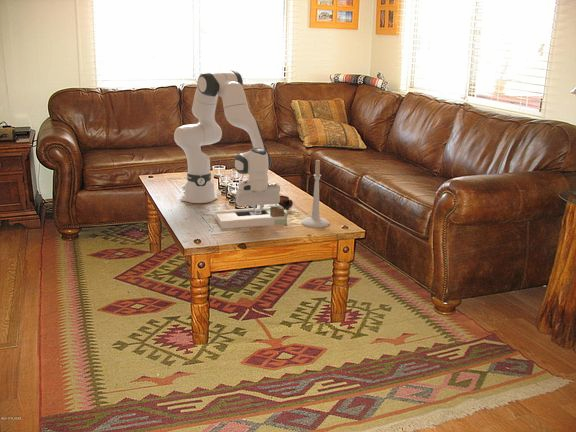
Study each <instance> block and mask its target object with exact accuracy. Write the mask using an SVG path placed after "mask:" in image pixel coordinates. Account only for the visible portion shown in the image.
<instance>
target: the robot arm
mask: <svg viewBox="0 0 576 432" xmlns="http://www.w3.org/2000/svg"><path fill="white" fill-rule="evenodd" d="M243 80H244V79H243V76H242V75H241V73H240V72H238V71H235V70H217V71H207V72H203V73H201V74H200V75H199V76H198V78H197V86H196V88H195V92H194V97H193V100H192V107H191V112H192V115H193V116H194V118H196V119H198V122H197V123H192V124H184V125H180V126H178V127H176V129H175V130H174V132H173V138H174V142H175V143H176V145H177V146H178V147H180V148H181V149H182V150H183V152H184V153H185V156H186V161H187V173H186V182H185V184H184V185H182V193H181V197H180V201H181V202H186V203H187V202H188V203H193V204H205V203H210V202H213V201H215V200H218V199H219V198H218V196H217V195H216V194H215V184H214V182H213V181H212V173H211V159H210V157H209V156H208V155H207V153H205V152H203V151H202V148H201V147H202V146H207V145H213V144H216V143H218V142H220V141H221V139H222V137H223V132H222V131H223V130H222V128H221V127H220V125H219V124H218V123H217V121H216V118H215V117H216V109H217V104H218V98H221V100H222V106H223V111H224V117H225V120H226V121H227V122H228V123H229V124H230V125H232V127H233V126H234V127H236V128H239V129H242V130H244V131H245V132H246V133H247V134H248V135H249V138H250V141H251V144H252V148H250V149H249V150H248V151H246V152H245V151H244V152H242V153H238V154H237V155H235V157H234V159H233V166H234V167H233V168H234V170H235V171H236V173H238V174H240V175H248V179H246V180H243V181H241V182H239V183H238V184H237V186H238V189H237V190H236V193H235V204H236V205H237V207H247V206H251V207H252V208H253V209H254V214H261V210H262V209H263V208H265V205H275V204H278V203H279V202H280V196H281V195H280V192H281V185H279V184H278V183H269V175H268V172H269V169H270V167H271V166H272V157H271V155H270V152H269V150H268V148H267V146H266V143H265V139H264V137H263V134H262V131H261V128H260V125H259V123H258V120H257V119H256V118H255V117H254V116H253V115H252V112H251V111H250V109H249V104H248V100H247V96H246V92H245V90H244V87H243V84H244V81H243ZM257 206H260V207H258V208H259V209H257V210H256V209H255V208H257Z"/></svg>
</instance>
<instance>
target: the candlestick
mask: <svg viewBox="0 0 576 432" xmlns="http://www.w3.org/2000/svg"><path fill="white" fill-rule="evenodd" d="M314 167H315V168H314V169H315V171H314V174H313V177H314V178H313V179H314V188H313V197H312V209H311V210H312V211H311V216H308V217H305V218H303V219H302V220H301V222H300V224H301V225H302V226H304V227H308V228H311V229H312V228H313V229H314V228H315V229H321V228H322V227H323V228H326V226H327V227H328V226H329V225H330V221H328V220H327V218H324V217H322V216H321V215H320V179H321V176H322V174H320V170H321V169H320V168H321V160H319V159H316V160H315V166H314ZM320 216H321V217H320Z"/></svg>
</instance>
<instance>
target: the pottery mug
mask: <svg viewBox="0 0 576 432" xmlns="http://www.w3.org/2000/svg"><path fill="white" fill-rule="evenodd" d="M278 204H279V205H281V206H282V207H283V208H284V210H285V211H288V210H289V209H290V208H292V206H293V205H294V202H293V200H292V199H290V198H289V196H287V195H280V202H279V203H278Z"/></svg>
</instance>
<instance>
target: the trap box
mask: <svg viewBox="0 0 576 432" xmlns="http://www.w3.org/2000/svg"><path fill="white" fill-rule="evenodd" d="M278 205H279V204H274V206H278ZM259 208H260V207H255V209H256V210H257V209H259ZM214 211H215V212H214V214H215V216H214V218H215V220H216V222H217V223H218V224H219V226H220V228H221V230H223V229H235V228H236V229H237V228H251V227H263V226H264V227H265V226H267V227H268V226H279V225H287V224H288V212H287V210H286V209H285V210H284V216H280V217H271V215H270V207H263V209H262V210H261V214H254V209H253V207H252V208H238V209H225V210H224V209H223V210H214Z"/></svg>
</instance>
